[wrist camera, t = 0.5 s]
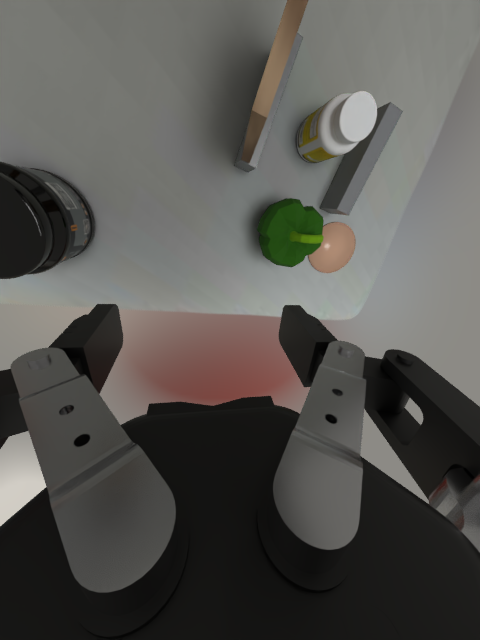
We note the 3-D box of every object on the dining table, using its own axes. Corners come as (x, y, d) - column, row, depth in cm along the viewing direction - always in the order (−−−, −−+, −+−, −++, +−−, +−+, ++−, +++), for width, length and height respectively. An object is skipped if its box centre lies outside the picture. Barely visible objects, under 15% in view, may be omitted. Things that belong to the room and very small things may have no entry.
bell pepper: (241, 245, 37) (255, 260, 28) (264, 189, 34) (288, 186, 25) (287, 264, 40) (314, 283, 31) (312, 214, 37) (349, 219, 28)
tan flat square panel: (297, 26, 23) (287, 20, 23) (385, -220, 10) (364, -237, 10) (249, 163, 27) (241, 159, 27) (267, 117, 14) (251, 109, 14)
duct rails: (271, 52, 28) (285, 24, 23) (374, 123, 33) (402, 111, 28) (234, 165, 32) (240, 160, 28) (330, 213, 37) (348, 215, 33)
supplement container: (0, 238, 31) (-98, 259, 21) (6, 151, 28) (-110, 122, 17) (89, 269, 35) (43, 299, 24) (104, 194, 31) (58, 192, 21)
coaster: (323, 213, 37) (324, 214, 36) (363, 233, 39) (364, 233, 39) (299, 263, 40) (300, 263, 39) (337, 278, 42) (339, 279, 42)
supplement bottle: (339, 148, 33) (389, 130, 25) (304, 171, 34) (342, 162, 25) (325, 103, 31) (376, 66, 22) (288, 129, 31) (324, 104, 23)
